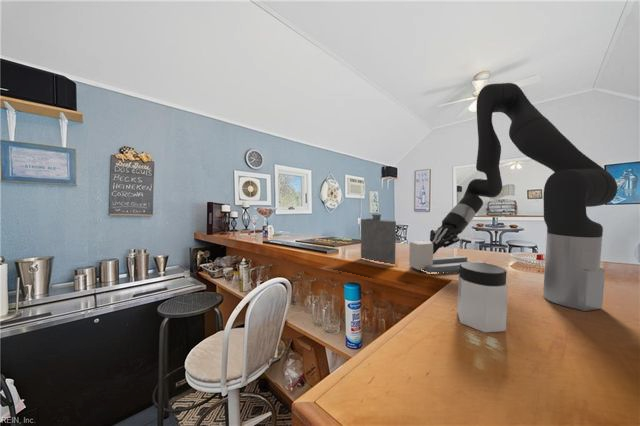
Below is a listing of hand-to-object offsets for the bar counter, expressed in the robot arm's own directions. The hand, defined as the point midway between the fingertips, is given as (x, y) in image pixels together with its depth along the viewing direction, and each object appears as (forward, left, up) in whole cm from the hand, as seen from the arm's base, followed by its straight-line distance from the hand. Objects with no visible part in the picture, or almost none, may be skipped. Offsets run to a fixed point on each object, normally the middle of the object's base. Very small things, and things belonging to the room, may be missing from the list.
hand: (429, 252), depth 84 cm
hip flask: (+14, +14, -7) cm, 21 cm away
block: (0, +4, -5) cm, 6 cm away
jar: (-33, +14, -7) cm, 36 cm away
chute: (0, -8, -6) cm, 10 cm away
